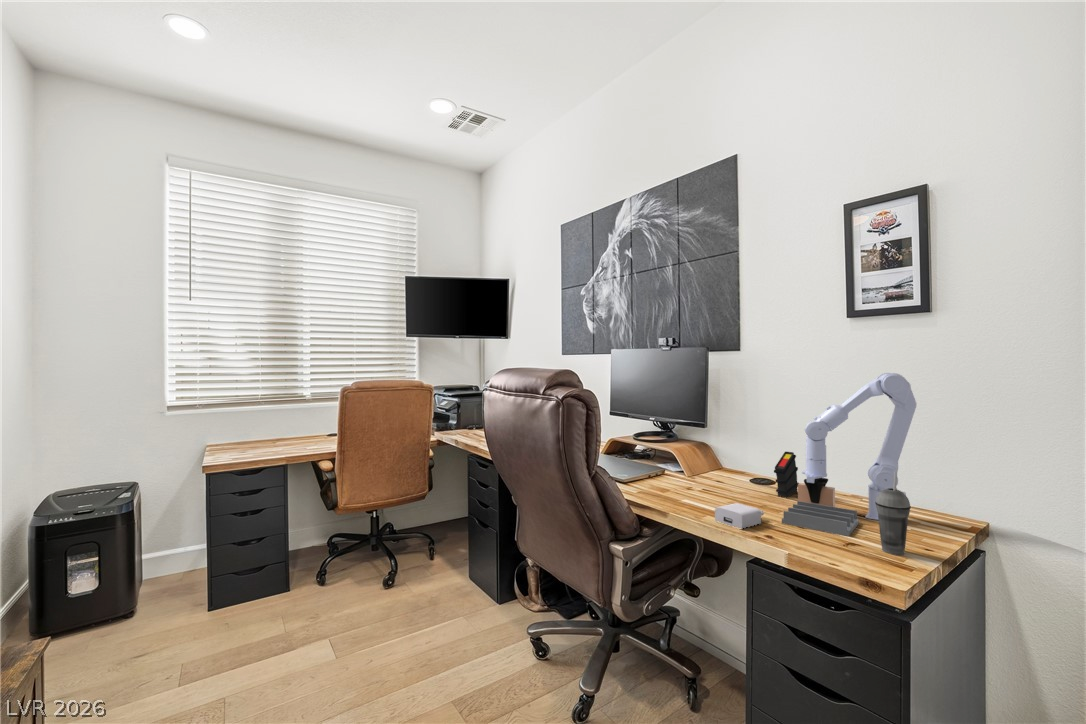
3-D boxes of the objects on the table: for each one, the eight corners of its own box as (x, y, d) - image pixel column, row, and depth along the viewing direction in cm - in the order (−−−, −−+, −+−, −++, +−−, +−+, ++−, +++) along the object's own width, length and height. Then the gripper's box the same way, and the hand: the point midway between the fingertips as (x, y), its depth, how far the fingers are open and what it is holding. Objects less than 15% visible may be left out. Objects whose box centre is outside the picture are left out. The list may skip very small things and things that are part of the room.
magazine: (802, 486, 183) (795, 452, 178) (789, 508, 175) (782, 472, 170) (791, 484, 186) (784, 450, 181) (778, 506, 177) (771, 471, 173)
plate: (835, 513, 155) (834, 487, 155) (833, 515, 153) (833, 489, 153) (800, 507, 162) (800, 482, 162) (798, 508, 160) (797, 484, 160)
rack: (859, 523, 145) (858, 510, 145) (848, 536, 134) (848, 523, 134) (796, 511, 157) (796, 500, 157) (781, 523, 145) (781, 510, 145)
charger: (773, 522, 147) (741, 531, 139) (746, 514, 155) (714, 522, 147) (773, 506, 147) (741, 514, 139) (746, 499, 155) (714, 506, 147)
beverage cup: (896, 546, 127) (895, 467, 127) (919, 557, 119) (918, 474, 120) (868, 546, 126) (868, 468, 127) (889, 557, 119) (888, 474, 119)
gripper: (808, 454, 166) (808, 495, 166) (795, 460, 155) (796, 504, 155) (832, 457, 161) (832, 498, 161) (821, 463, 150) (821, 508, 150)
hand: (816, 501), depth 158 cm, fingers closed on plate, 3 cm apart
